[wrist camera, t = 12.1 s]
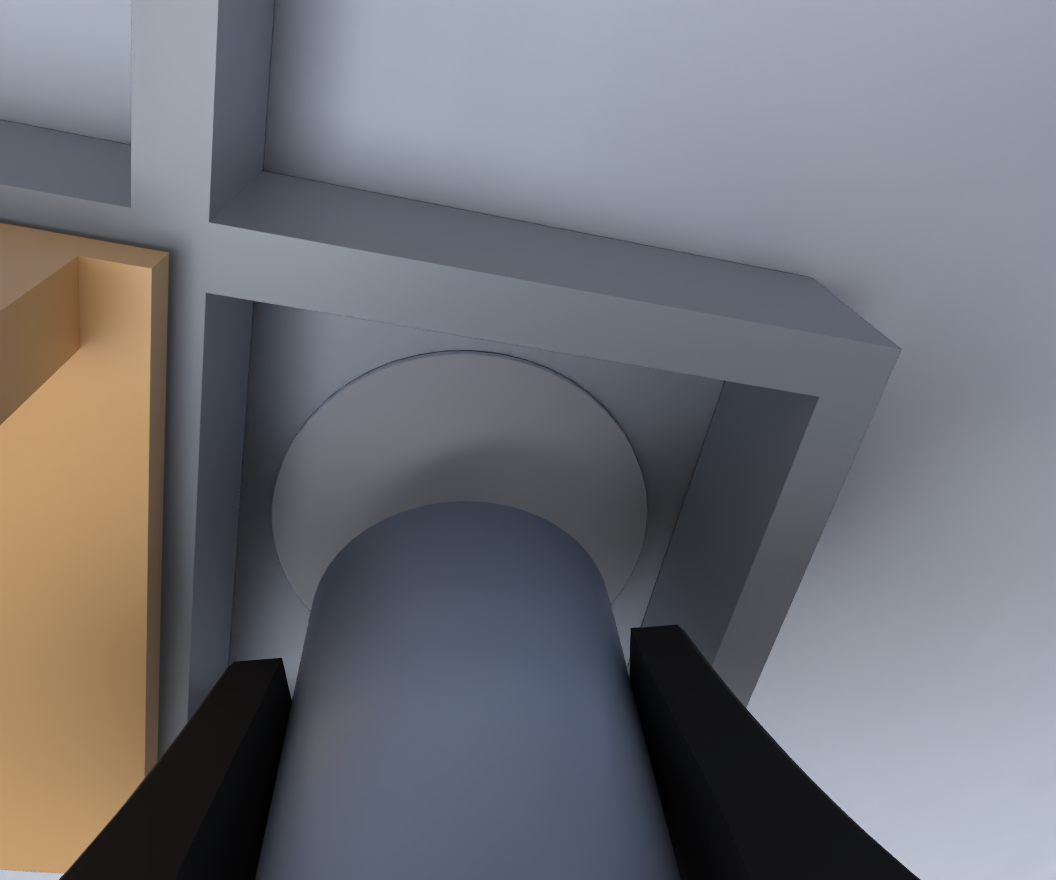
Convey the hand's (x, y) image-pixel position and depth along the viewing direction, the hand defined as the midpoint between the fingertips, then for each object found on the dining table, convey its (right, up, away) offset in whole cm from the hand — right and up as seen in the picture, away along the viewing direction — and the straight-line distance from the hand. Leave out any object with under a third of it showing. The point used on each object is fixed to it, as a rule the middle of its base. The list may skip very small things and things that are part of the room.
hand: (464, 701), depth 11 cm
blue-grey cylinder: (0, +1, +1) cm, 2 cm away
